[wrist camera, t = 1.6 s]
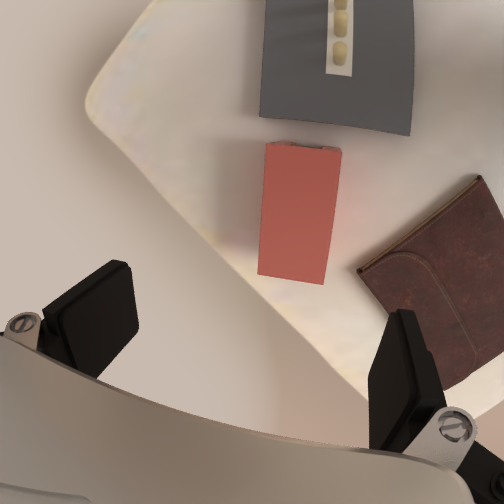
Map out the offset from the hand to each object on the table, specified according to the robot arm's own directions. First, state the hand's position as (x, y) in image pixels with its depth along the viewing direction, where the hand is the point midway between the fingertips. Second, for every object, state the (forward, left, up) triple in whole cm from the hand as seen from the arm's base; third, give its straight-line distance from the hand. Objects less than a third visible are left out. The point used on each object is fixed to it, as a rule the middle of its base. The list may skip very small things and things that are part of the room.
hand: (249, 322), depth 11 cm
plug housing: (0, 0, -19) cm, 19 cm away
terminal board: (-2, -16, -19) cm, 25 cm away
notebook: (-18, +7, -19) cm, 27 cm away
